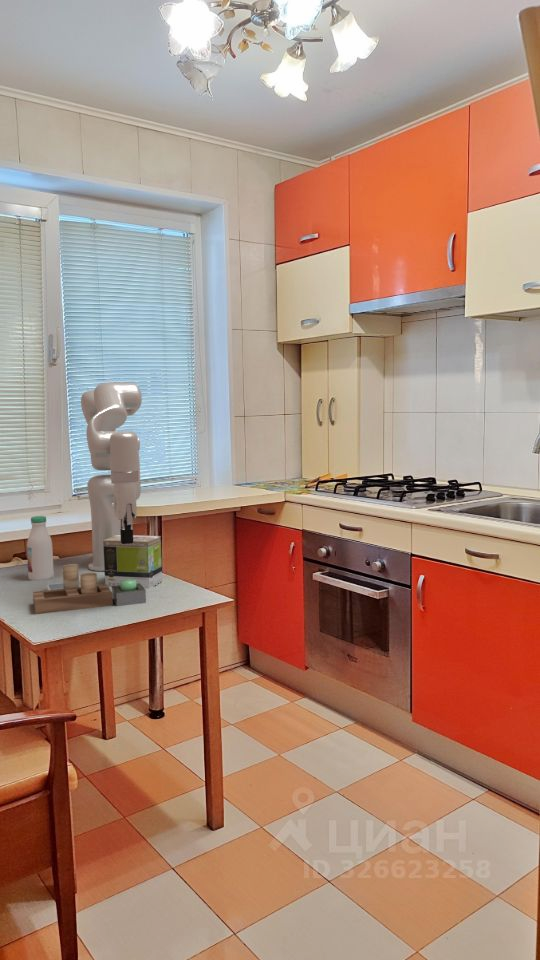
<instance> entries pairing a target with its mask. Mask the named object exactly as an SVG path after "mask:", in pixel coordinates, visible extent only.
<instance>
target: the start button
mask: <svg viewBox="0 0 540 960" xmlns="http://www.w3.org/2000/svg"><path fill="white" fill-rule="evenodd" d="M120 590H121V591H130V590H137V589H136V580H133V579H126V580H122V581H120Z"/></svg>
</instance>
